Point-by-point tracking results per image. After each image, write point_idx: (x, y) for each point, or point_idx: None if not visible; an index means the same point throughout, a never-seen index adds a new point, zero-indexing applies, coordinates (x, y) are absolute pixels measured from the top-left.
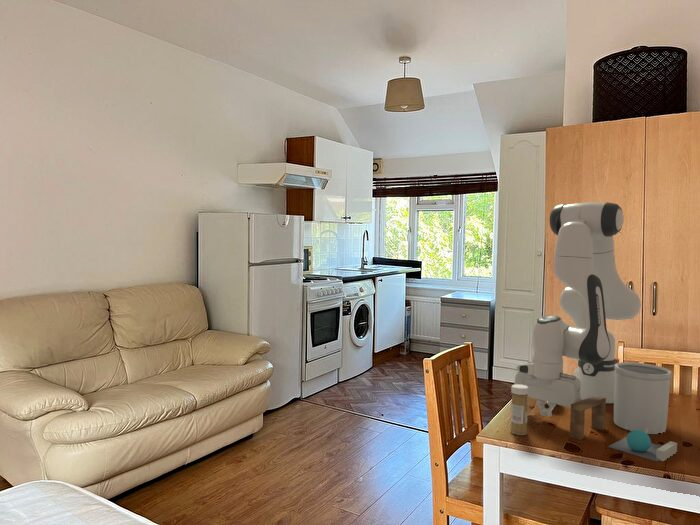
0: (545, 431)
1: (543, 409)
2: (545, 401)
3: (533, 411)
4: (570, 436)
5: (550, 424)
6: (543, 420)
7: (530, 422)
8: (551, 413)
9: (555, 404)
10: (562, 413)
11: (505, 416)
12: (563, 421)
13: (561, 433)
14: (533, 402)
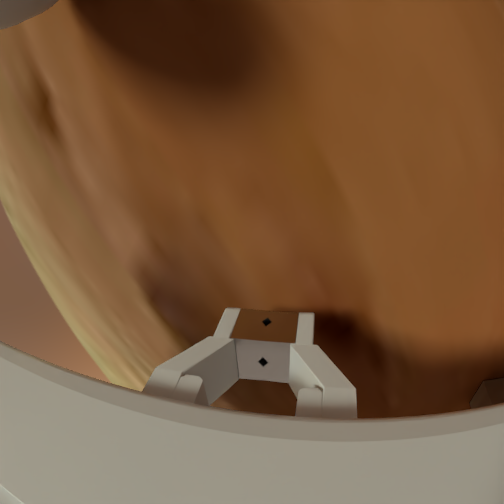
0: None
1: (250, 374)
2: (52, 4)
3: (97, 179)
4: (472, 405)
5: (341, 340)
6: (265, 306)
7: (239, 380)
8: (313, 325)
9: (354, 398)
10: (257, 5)
11: (116, 371)
12: (386, 211)
13: (433, 399)
14: (12, 29)
